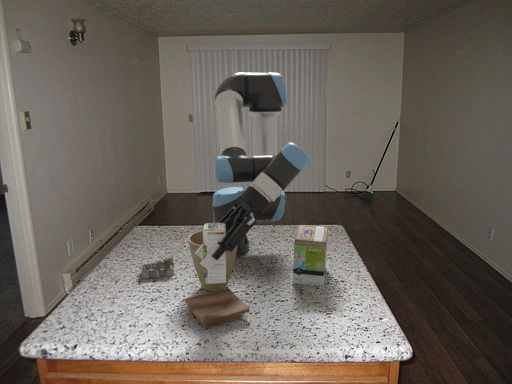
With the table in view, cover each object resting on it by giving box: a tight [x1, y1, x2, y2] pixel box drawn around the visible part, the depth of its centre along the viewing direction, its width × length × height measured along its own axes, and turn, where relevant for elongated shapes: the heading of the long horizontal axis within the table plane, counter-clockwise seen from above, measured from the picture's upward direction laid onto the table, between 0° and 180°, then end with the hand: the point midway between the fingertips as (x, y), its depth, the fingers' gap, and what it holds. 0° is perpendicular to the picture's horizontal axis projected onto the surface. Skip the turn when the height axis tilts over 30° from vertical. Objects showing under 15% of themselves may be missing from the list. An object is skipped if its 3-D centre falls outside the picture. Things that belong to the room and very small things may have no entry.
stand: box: [184, 287, 250, 329], centre depth 105 cm, size 13×13×3 cm
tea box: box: [292, 224, 329, 287], centre depth 127 cm, size 15×10×15 cm
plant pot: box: [187, 229, 238, 292], centre depth 120 cm, size 15×15×16 cm
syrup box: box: [202, 222, 226, 284], centre depth 101 cm, size 6×6×14 cm
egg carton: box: [140, 257, 175, 280], centre depth 130 cm, size 11×8×4 cm
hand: (201, 261), depth 101 cm, fingers closed on syrup box, 7 cm apart
